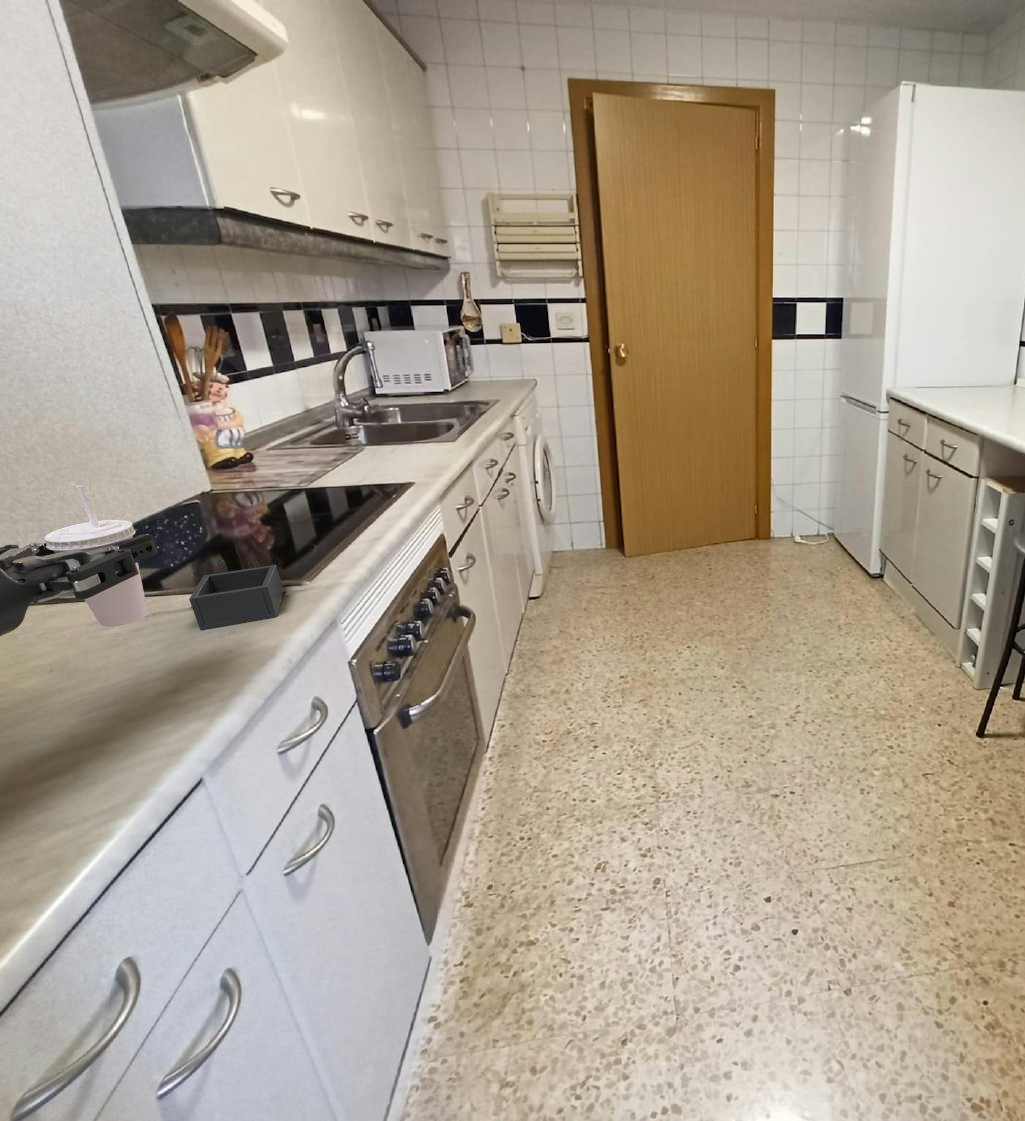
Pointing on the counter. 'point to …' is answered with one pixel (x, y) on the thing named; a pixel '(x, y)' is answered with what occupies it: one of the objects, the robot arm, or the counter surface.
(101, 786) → the counter surface
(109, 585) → the robot arm
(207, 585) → the open box
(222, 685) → the counter surface
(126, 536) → the smoothie
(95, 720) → the counter surface
